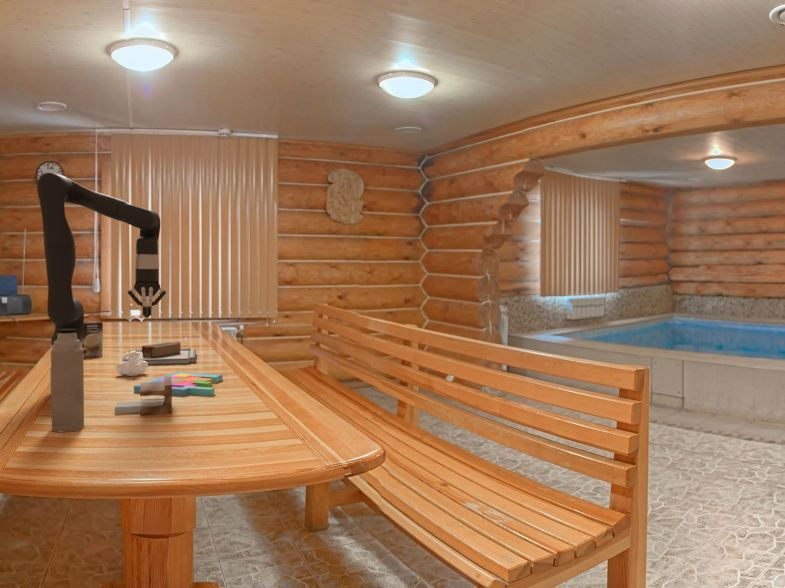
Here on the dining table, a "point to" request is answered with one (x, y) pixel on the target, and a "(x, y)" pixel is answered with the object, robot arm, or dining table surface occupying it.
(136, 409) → the tile
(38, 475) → the dining table surface
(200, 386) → the tetris game
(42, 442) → the dining table surface
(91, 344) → the coffee box
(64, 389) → the thermos bottle
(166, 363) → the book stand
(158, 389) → the shelf
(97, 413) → the dining table surface
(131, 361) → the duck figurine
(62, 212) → the robot arm
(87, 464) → the dining table surface
